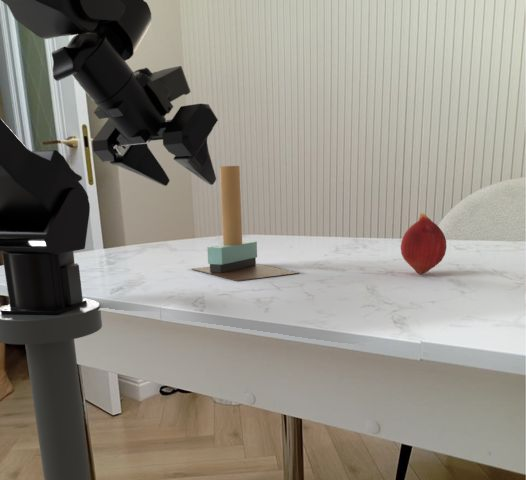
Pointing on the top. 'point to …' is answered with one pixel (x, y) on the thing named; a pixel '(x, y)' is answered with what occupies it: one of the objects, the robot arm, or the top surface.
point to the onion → (423, 245)
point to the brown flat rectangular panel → (249, 272)
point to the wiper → (231, 228)
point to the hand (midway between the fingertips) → (189, 182)
